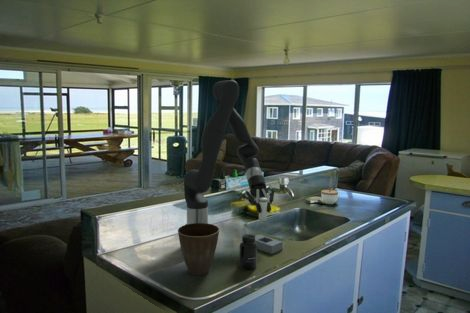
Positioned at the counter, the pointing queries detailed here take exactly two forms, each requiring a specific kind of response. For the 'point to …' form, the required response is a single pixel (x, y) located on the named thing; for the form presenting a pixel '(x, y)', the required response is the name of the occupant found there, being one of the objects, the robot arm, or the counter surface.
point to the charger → (263, 209)
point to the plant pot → (198, 246)
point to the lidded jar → (329, 196)
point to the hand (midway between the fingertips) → (264, 211)
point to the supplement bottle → (248, 252)
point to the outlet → (268, 244)
